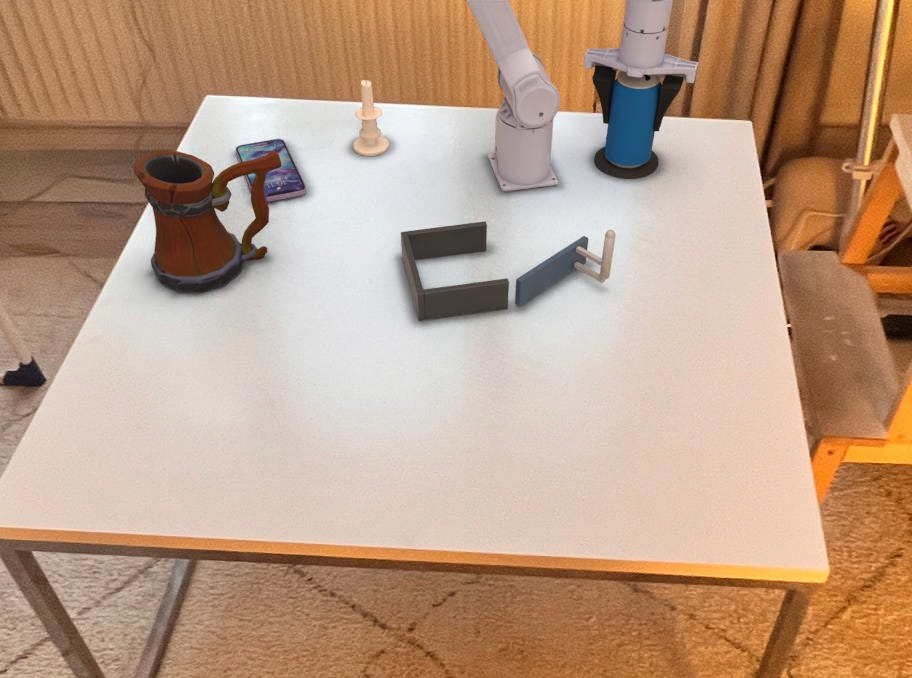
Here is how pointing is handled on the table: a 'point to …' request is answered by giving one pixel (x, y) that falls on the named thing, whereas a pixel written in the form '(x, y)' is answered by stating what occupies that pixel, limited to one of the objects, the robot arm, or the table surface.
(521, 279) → the cooler door
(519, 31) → the robot arm
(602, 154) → the coaster
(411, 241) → the dark grey u-shaped piece
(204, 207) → the mug
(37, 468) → the table surface
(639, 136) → the beverage can
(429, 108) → the table surface
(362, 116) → the candle
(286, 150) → the smartphone
